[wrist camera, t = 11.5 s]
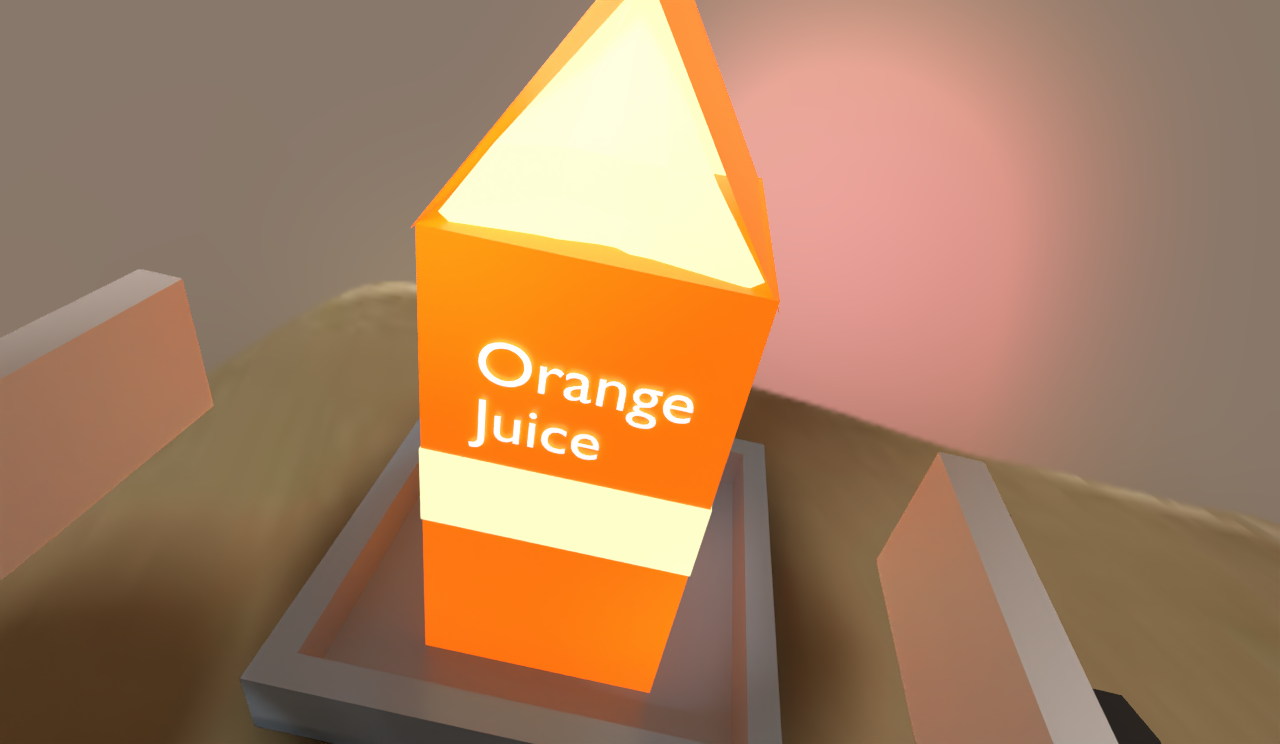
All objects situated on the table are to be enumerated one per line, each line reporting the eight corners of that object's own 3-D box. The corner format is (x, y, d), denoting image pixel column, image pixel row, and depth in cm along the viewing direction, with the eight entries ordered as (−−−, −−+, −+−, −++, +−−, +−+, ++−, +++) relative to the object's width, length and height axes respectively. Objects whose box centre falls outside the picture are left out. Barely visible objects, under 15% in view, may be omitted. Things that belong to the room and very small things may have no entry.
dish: (749, 483, 31) (764, 444, 30) (759, 838, 18) (785, 799, 17) (448, 417, 31) (448, 376, 30) (254, 725, 19) (239, 678, 17)
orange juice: (673, 503, 28) (823, -23, 17) (653, 696, 21) (895, -11, 10) (500, 466, 28) (537, -83, 17) (418, 645, 21) (391, -116, 10)
